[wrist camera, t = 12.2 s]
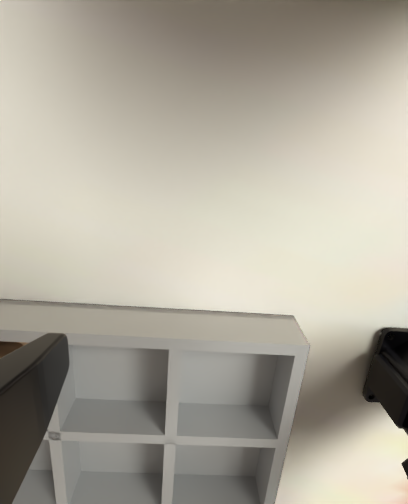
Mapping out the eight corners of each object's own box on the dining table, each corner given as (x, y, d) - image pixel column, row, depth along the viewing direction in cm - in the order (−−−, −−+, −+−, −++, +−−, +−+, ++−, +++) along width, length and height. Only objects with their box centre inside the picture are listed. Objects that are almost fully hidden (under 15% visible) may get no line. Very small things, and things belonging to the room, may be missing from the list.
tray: (293, 315, 23) (310, 345, 19) (261, 476, 28) (270, 521, 25) (-57, 296, 21) (-103, 324, 18) (-19, 467, 27) (-49, 513, 24)
